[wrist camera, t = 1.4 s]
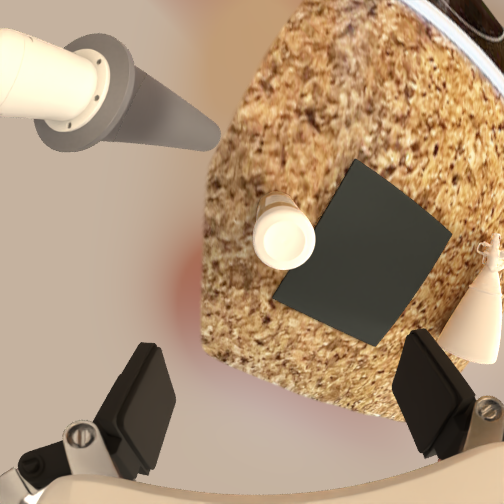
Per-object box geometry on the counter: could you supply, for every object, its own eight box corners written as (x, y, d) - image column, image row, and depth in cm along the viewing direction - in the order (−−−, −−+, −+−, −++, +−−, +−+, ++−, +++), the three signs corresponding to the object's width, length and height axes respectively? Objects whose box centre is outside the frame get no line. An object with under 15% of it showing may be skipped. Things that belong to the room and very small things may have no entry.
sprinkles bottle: (249, 216, 33) (240, 251, 20) (270, 183, 32) (274, 197, 19) (283, 236, 34) (293, 282, 21) (303, 203, 32) (328, 231, 20)
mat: (272, 297, 36) (272, 298, 36) (354, 158, 30) (355, 158, 30) (374, 345, 38) (375, 346, 38) (450, 233, 32) (452, 234, 32)
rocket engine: (531, 238, 22) (496, 370, 24) (522, 247, 30) (495, 351, 31) (461, 221, 31) (430, 347, 32) (467, 233, 38) (442, 333, 40)
